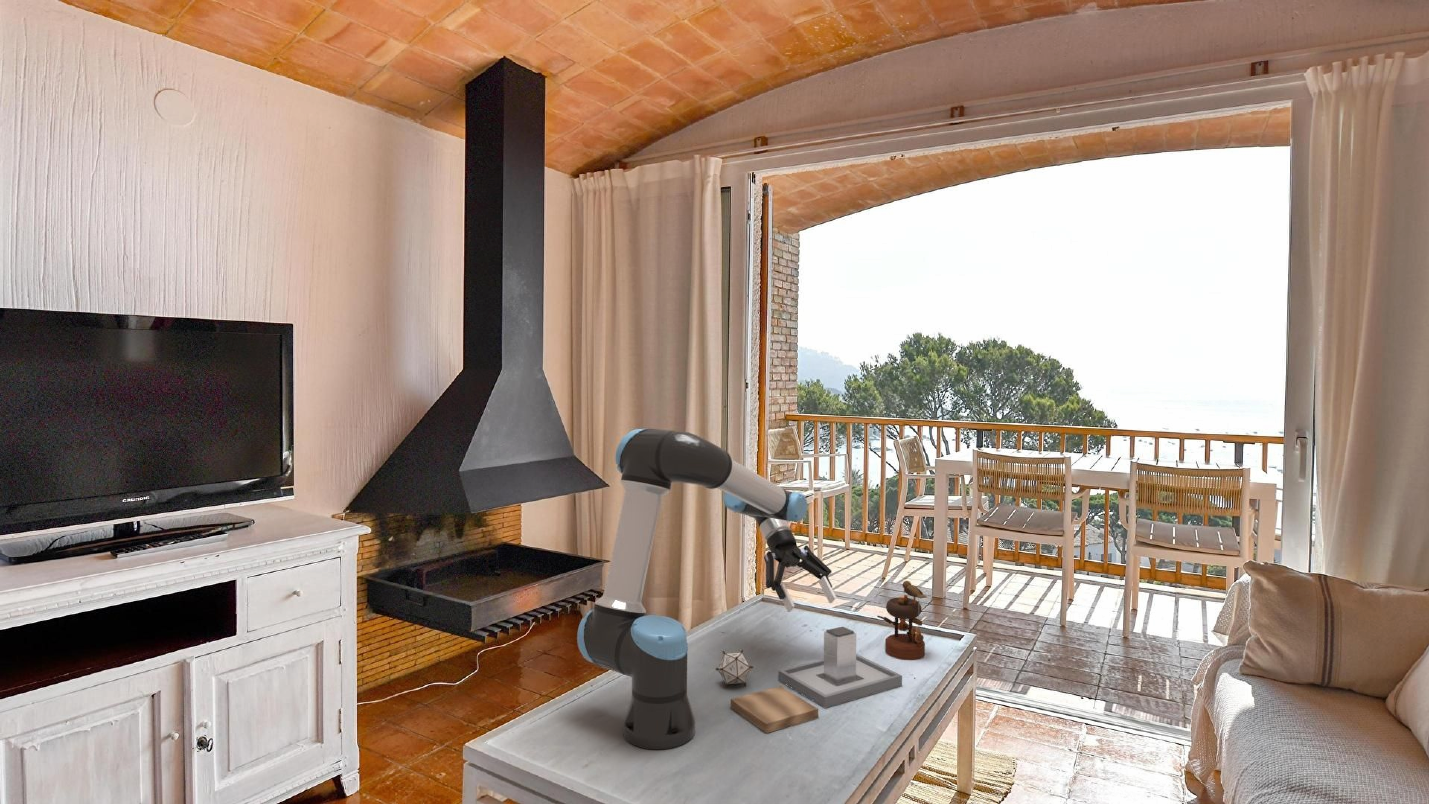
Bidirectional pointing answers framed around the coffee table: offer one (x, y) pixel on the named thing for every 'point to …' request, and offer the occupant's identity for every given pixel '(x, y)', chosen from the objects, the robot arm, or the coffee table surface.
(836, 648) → the block
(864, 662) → the grey flat frame
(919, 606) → the music box
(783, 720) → the board
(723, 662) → the game die
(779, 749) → the coffee table surface
